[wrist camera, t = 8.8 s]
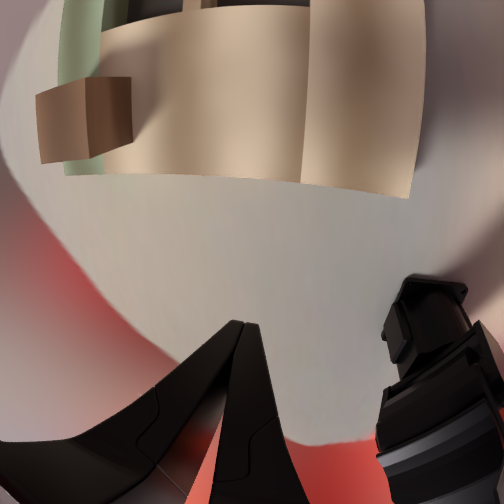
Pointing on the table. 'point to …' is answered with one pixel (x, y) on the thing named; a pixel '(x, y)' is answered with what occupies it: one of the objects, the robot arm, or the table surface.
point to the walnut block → (84, 118)
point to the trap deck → (258, 87)
